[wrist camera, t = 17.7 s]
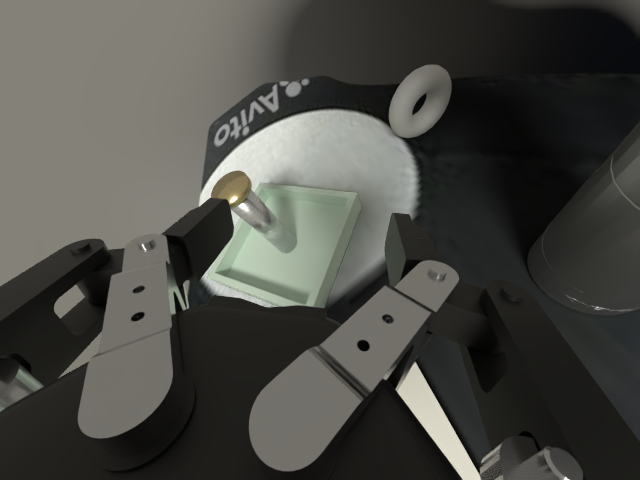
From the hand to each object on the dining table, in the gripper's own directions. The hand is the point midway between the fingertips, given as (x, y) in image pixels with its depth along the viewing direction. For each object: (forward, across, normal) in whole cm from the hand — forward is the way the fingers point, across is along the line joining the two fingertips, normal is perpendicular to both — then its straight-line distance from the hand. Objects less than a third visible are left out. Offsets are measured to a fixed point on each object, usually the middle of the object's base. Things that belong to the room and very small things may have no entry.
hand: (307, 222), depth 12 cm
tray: (+20, +6, +16) cm, 27 cm away
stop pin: (+20, +6, +16) cm, 26 cm away
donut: (+35, -13, +1) cm, 38 cm away
